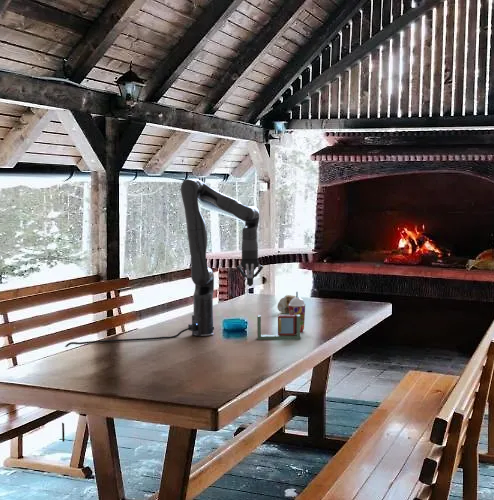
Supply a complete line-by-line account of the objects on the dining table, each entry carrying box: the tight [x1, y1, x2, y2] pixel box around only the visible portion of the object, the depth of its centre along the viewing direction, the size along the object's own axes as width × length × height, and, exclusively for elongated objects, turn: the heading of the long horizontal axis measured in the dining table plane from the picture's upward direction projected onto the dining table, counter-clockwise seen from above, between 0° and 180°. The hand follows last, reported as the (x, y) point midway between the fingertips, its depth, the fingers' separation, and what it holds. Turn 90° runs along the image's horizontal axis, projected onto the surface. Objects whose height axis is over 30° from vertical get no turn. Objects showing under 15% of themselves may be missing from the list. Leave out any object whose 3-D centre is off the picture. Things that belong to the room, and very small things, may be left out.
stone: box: [277, 294, 296, 314], centre depth 421 cm, size 17×12×10 cm
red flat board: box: [277, 315, 295, 335], centre depth 342 cm, size 4×8×9 cm, turn 92°
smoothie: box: [288, 291, 306, 334], centre depth 361 cm, size 8×8×20 cm
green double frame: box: [256, 314, 301, 341], centre depth 345 cm, size 4×20×11 cm, turn 93°
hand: (250, 285), depth 344 cm, fingers closed
